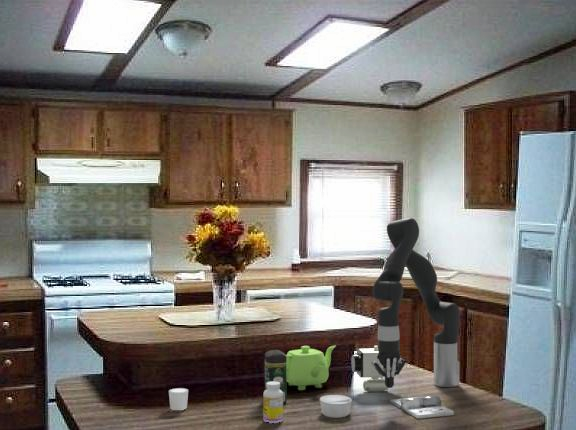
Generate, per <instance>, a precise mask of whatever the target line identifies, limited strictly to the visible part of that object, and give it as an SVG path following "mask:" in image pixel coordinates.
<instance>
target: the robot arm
mask: <svg viewBox="0 0 576 430" xmlns="http://www.w3.org/2000/svg"><path fill="white" fill-rule="evenodd" d="M386 232H387V236H388V239H389V241H390V243H391V244H392V246H393V247H394V250H393V251H392V252H390V254H389V256H388V257H387V258H386V261H385V264H384V267H383V270H382V272H381V274H380V275H379V276H378V278H377V279H376V281H375V282H374V284H373V286H372V292H371V293H372V296H373V299H375V300H376V301H379V302H391V305H390V306H387V307H380V308H379V309H378V312H377V313H378V314H377V315H378V316H377V319H378V320H377V321H378V327H377V346H378V356H377V359H376V360H375V361H373V362H372V365H373V366H374V368H375V369H376V370H377V371H378V373H379V374H380V375H382V376H384V377H383V378H384V380H385V386H386V387H387V388H388V389H392V388H393V386H395V377H396V376H399V375H400V373H401V372H402V370H403V368H404V366H405V365H406V364H407V360H406V359H404V358H402V356H401V353H400V351H401V347H400V345H401V343H400V341H401V340H400V339H401V338H400V337H401V336H400V326H399V322H400V321H399V314H400V313H399V312H400V307H401V302H402V300H403V295H404V287H403V284H402V283H401V281H402V280H403V275H404V271H405V269H407V271H408V274H409V275H410V277H411V280H412V281H413V283H414V284H415V287H416V288H417V290H418V292H419V294H420V297H421V298H422V300H423V303H424V305H425V308H426V310H427V313H428V315H429V318H430V320H431V322H433V323H434V324H436V325H441V326H443V328H442V329H443V330H442V331H441V332H438V333H435V334H434V336H433V384H434V385H435V386H436V387H439V388H440V387H443V388H454V387H457V386H460V361H459V360H458V339H459V334H460V321H461V311H460V308H459V306H458V305H457V304H456V303H454V302H448V301H447V302H446V301H441V299H440V298H439V296H438V294H437V291H436V289H437V284H438V276H437V273H436V270H435V269H434V266H433V265H432V263H431V261H430V260H429V259H427V258H426V257H425V256H423V255H422V254H420V253H418V252H417V251H415V250H414V247H415V245H416V243H417V242H418V239H419V235H420V227H419V224H418V223H417V221H416V220H415V219H414V218H412V217H408V218H406V217H405V218H403V219H398V220H393V221H391V222H389V223H387V226H386ZM405 267H406V268H405ZM379 362H380V363H381V365H382V366H383V370H384V371H383V370H382V369H381V367H380V363H379ZM397 363H398V364H397ZM396 364H397V365H396Z"/></svg>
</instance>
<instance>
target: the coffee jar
mask: <svg viewBox="0 0 576 430" xmlns="http://www.w3.org/2000/svg"><path fill="white" fill-rule="evenodd" d="M286 355H287V354H286V353H285V352H284V351H281V350H280V349H271V350H270V349H269V350H268V351H266V352H265V353H264V391H265V390H267V387H266V383H267V382H271V381H276V382H280V390H281V391H282V392H283V404H284V403H287V400H288V392H287V391H288V390H287V383H288V382H287V374H286V368H287V358H286V357H287V356H286Z"/></svg>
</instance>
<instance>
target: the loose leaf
mask: <svg viewBox="0 0 576 430" xmlns="http://www.w3.org/2000/svg"><path fill="white" fill-rule="evenodd" d="M416 397H417V398H413V397H406V398H407V399H402V398H401V399H402V400H401V408H402V409H401V410H402V411H404V412H405V413H407V414H409V415H411V416H412V417H414V418H416V419H428V418H429V419H430V418H437V417H439V418H440V417H446V416H447V417H448V416H454V415H455V414H454V413H455V411H454V410H452V409H450V408H448V407H446V406H444V405H442V404H441V405H439V406H429V407H423V400H422V398H421V397H422V396H416Z"/></svg>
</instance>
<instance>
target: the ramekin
mask: <svg viewBox="0 0 576 430" xmlns="http://www.w3.org/2000/svg"><path fill="white" fill-rule="evenodd" d="M352 402H353V400H352V398H351V397H349V396H347V395H342V394H329V395H323V396H321V397H320V398H319V403H320V408H321V409H320V410H321V413H322V415H323V416H324V417H328V418H334V419H335V418H336V419H340V418H345V417H347V416H349V414H350V413H351V408H352V407H351V406H352Z"/></svg>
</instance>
